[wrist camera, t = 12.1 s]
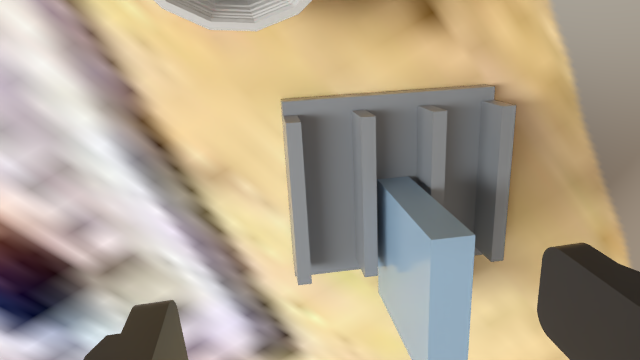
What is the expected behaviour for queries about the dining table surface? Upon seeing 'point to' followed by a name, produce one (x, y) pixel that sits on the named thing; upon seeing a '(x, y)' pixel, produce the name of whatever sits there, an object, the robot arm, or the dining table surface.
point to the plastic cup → (234, 12)
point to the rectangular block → (424, 270)
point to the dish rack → (393, 168)
